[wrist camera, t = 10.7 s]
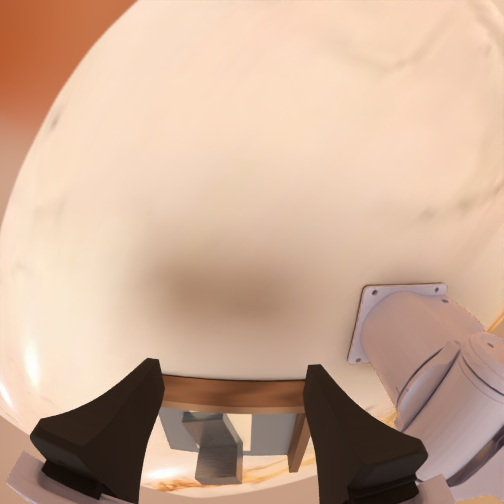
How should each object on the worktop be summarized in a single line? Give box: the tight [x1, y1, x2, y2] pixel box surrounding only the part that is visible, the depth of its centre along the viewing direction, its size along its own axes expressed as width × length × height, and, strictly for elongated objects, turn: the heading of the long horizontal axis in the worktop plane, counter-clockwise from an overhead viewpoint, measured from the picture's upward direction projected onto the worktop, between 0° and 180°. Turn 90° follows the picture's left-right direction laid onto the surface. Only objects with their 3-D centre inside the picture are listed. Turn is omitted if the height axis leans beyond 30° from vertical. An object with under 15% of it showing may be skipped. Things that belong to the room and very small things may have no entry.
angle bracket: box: [181, 412, 243, 485], centre depth 22 cm, size 7×4×6 cm, turn 15°
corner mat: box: [158, 377, 298, 456], centre depth 25 cm, size 16×14×1 cm
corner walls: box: [161, 375, 311, 473], centre depth 24 cm, size 16×14×3 cm
